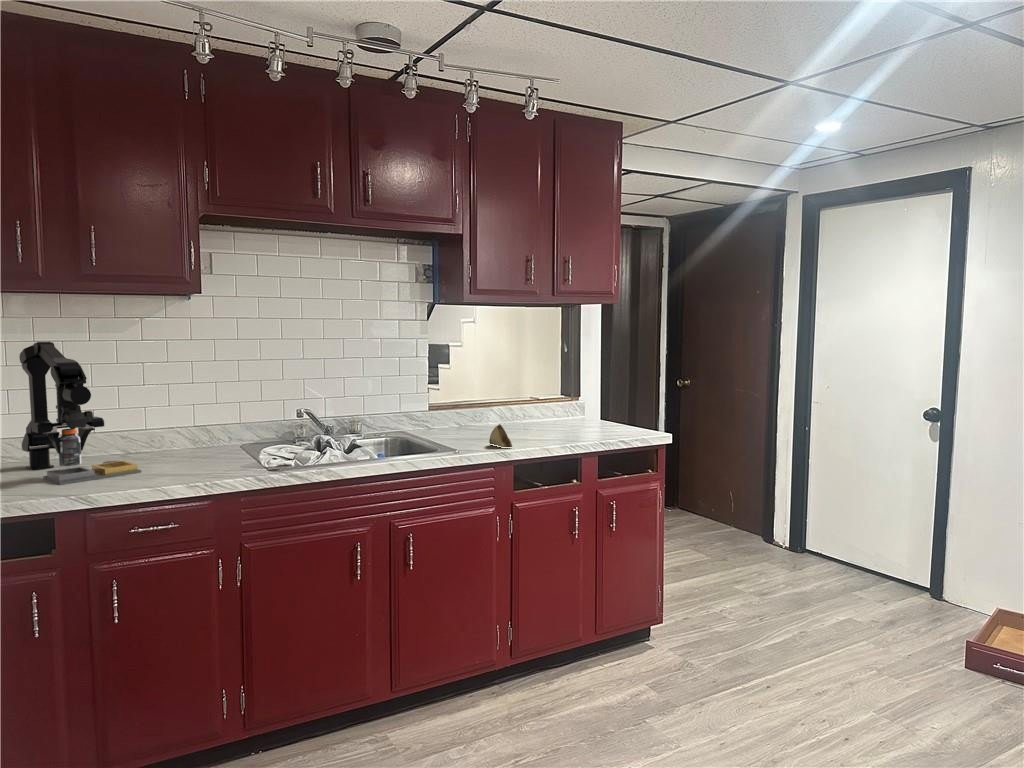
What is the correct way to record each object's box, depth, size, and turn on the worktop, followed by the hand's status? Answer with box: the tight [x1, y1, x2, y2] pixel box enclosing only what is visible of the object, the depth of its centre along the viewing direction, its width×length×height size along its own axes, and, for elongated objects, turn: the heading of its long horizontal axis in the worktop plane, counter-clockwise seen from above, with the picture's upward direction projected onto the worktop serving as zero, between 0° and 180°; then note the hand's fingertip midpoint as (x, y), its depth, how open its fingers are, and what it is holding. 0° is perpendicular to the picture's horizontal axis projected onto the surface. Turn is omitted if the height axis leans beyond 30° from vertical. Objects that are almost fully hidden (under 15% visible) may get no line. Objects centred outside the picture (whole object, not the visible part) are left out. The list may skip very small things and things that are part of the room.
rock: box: [488, 423, 513, 447], centre depth 289 cm, size 11×9×10 cm
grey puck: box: [102, 460, 118, 464], centre depth 245 cm, size 7×7×2 cm
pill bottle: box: [58, 428, 83, 467], centre depth 224 cm, size 6×6×11 cm
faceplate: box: [42, 460, 142, 486], centre depth 230 cm, size 13×24×2 cm, turn 141°
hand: (70, 452), depth 225 cm, fingers closed on pill bottle, 6 cm apart
